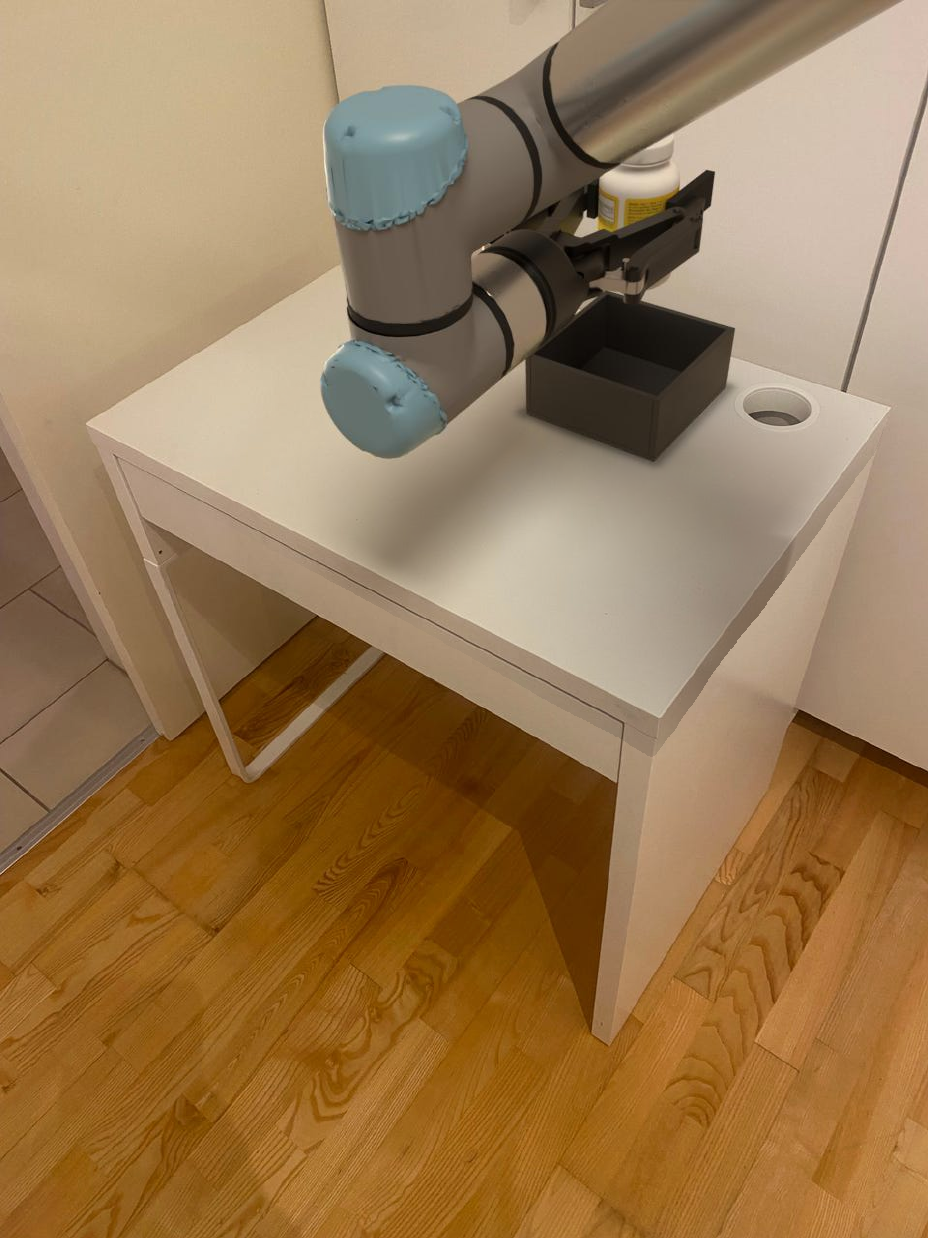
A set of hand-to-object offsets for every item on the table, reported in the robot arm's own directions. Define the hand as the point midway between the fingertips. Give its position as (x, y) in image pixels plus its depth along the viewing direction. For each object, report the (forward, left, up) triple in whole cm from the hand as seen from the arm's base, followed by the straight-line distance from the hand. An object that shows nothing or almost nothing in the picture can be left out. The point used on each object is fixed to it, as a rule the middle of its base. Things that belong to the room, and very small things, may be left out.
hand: (669, 179), depth 77 cm
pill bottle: (0, +5, -6) cm, 8 cm away
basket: (+2, 0, -22) cm, 22 cm away
